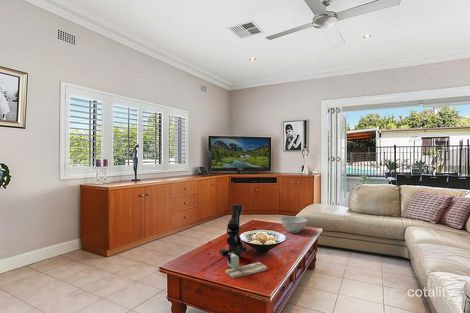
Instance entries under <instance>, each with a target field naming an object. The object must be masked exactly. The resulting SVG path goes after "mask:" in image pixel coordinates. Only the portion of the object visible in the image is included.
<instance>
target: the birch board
mask: <svg viewBox="0 0 470 313" xmlns="http://www.w3.org/2000/svg"><path fill="white" fill-rule="evenodd" d="M268 269H269V268H268V266H267V265H265V264H263V263H261V262H260V261H257V262H253V263H250V264H245V265H242V266H239V267H237V268H233V269H232V268H229V269H225V274H227V275H228V276H229V277H230V278H232V279H234V280H235V279H237V278H241V277H245V276H248V275H253V274H256V273H259V272H263V271H267V270H268Z"/></svg>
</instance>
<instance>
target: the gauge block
mask: <svg viewBox="0 0 470 313" xmlns="http://www.w3.org/2000/svg"><path fill="white" fill-rule="evenodd" d="M230 255H231V257H230V261H231V262H230V264H229V262H228V261H227V266H228V267H230V269H233V268H237V267H240V257H238V256H237V255H235V254H233V253H230Z"/></svg>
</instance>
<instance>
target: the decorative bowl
mask: <svg viewBox="0 0 470 313" xmlns="http://www.w3.org/2000/svg"><path fill="white" fill-rule="evenodd" d="M280 222H281V223H280V224H281V225H282V226H283V228H284V229H286V230H287V232H288V233H294V234H296V233H300V232H301V231H302V230H303V229H304V228H305V227H306V225H307V222H308V219H306V218H304V217H302V216H295V215H293V216H291V215H290V216H289V215H287V216H283V217H280Z"/></svg>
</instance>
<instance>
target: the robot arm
mask: <svg viewBox="0 0 470 313" xmlns="http://www.w3.org/2000/svg"><path fill="white" fill-rule="evenodd" d="M231 211H232V213H231V218H230V219H229V220H228V223H227V225H226V226H227V228H226V234H228V237H227V240H226V244H228V247H227V248H228V249H226V248H223V249H220V250H219V255H220V256H222V257H226V260H227V263H228V262H229V264H230V262H231V261H230V257H231V255H230V254H235V255H237V256H238V257H239V258H242V257H243V256H242V254H243V253H246V252H247V247H246V246H244V244H243V242H242V238H241V236H240V223H241V222H240V219H241V217H240V216H241V215H242V213H243V211H244V206H243V205H242V204H240V203H239V204H235V203H234V204H233V205H231Z"/></svg>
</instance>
